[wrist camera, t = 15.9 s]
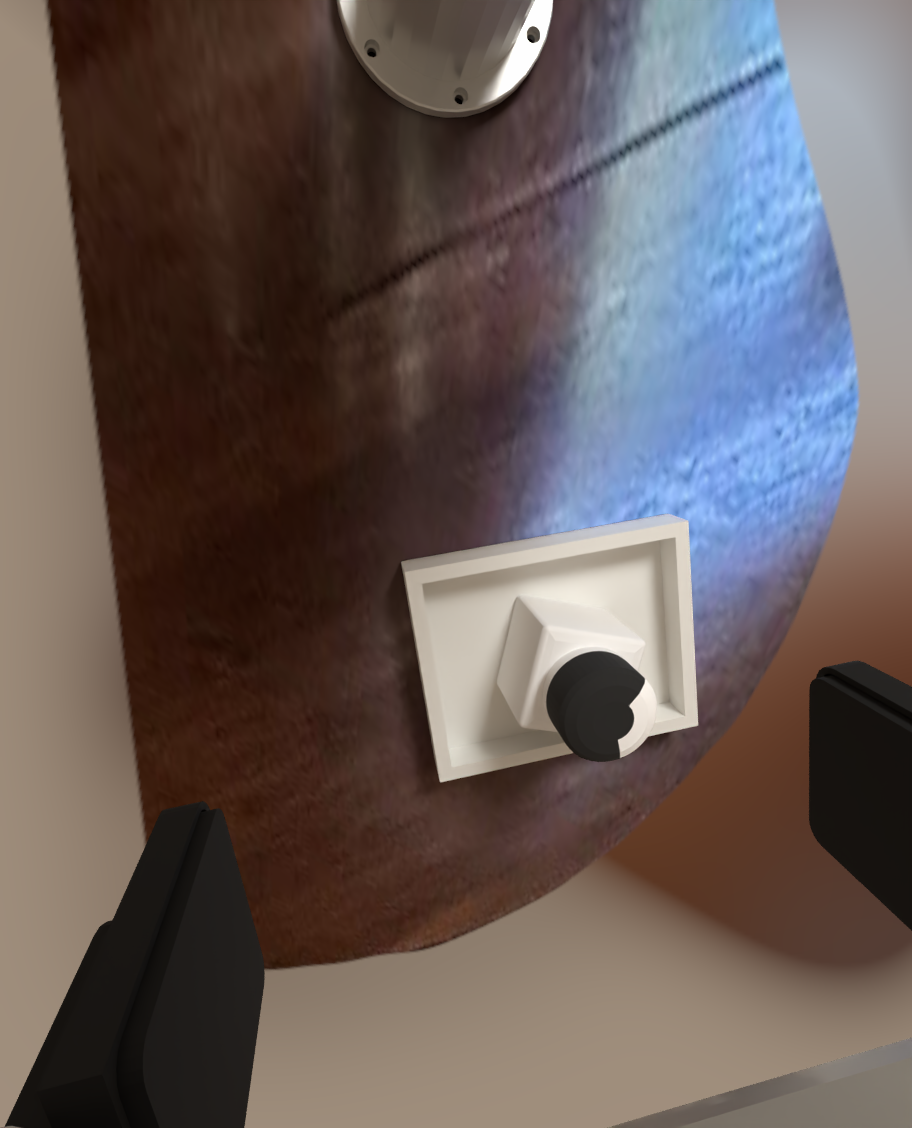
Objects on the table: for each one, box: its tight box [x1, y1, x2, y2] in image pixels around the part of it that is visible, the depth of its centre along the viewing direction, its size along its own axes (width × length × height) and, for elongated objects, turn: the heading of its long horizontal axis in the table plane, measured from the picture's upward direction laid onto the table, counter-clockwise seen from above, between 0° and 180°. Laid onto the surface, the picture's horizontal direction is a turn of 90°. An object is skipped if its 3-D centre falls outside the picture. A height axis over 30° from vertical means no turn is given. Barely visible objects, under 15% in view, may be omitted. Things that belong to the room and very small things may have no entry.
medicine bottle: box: [497, 595, 657, 762], centre depth 43 cm, size 7×7×12 cm
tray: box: [401, 514, 698, 782], centre depth 48 cm, size 16×20×3 cm
